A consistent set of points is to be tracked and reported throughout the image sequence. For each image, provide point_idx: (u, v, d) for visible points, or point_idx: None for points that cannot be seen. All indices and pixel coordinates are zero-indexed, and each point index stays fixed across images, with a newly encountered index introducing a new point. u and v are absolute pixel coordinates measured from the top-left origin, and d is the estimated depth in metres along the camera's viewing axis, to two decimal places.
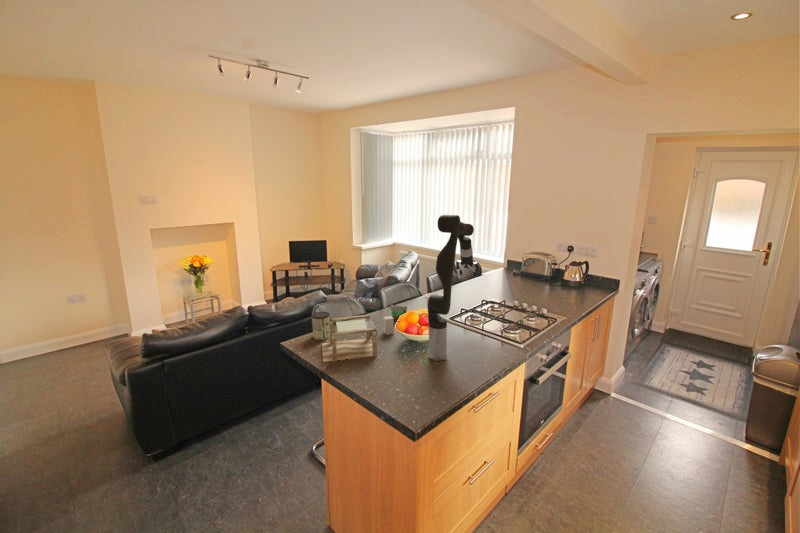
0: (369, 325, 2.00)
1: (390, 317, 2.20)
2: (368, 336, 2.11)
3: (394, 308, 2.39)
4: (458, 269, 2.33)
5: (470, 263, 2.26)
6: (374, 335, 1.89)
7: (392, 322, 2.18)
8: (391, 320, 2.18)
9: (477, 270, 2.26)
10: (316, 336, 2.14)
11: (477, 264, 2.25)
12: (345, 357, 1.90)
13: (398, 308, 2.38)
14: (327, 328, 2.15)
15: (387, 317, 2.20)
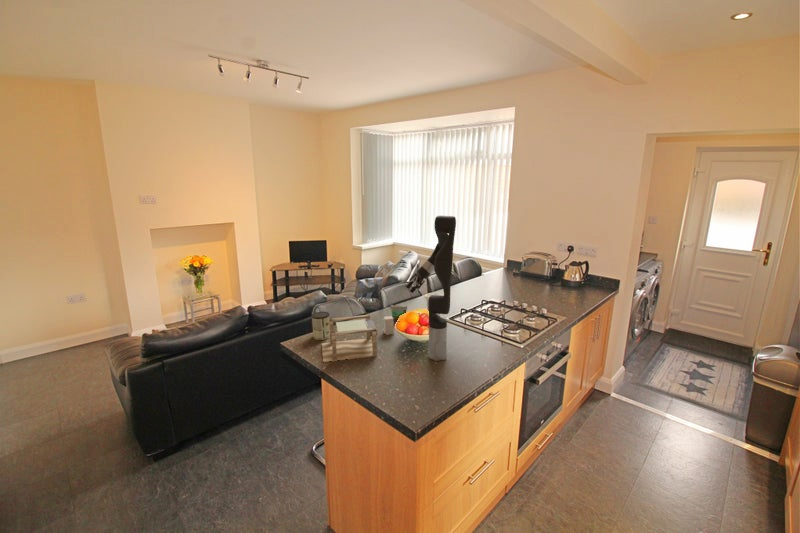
0: (369, 325, 2.00)
1: (390, 317, 2.20)
2: (368, 336, 2.11)
3: (394, 308, 2.39)
4: (410, 281, 2.25)
5: (419, 277, 2.17)
6: (374, 335, 1.89)
7: (392, 322, 2.18)
8: (391, 320, 2.18)
9: (416, 285, 2.13)
10: (316, 336, 2.14)
11: (421, 280, 2.13)
12: (345, 357, 1.90)
13: (398, 308, 2.38)
14: (327, 328, 2.15)
15: (387, 317, 2.20)
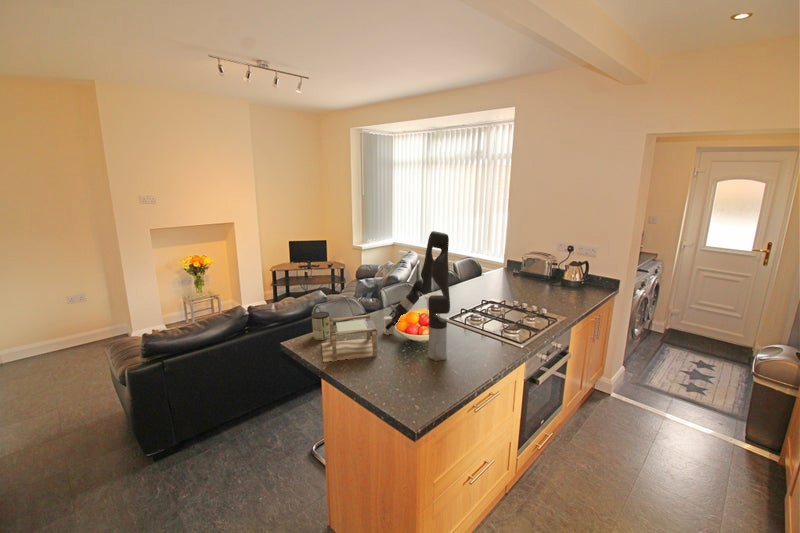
0: (369, 325, 2.00)
1: (390, 317, 2.20)
2: (368, 336, 2.11)
3: (394, 308, 2.39)
4: None
5: (397, 314, 2.18)
6: (374, 335, 1.89)
7: None
8: None
9: (392, 322, 2.15)
10: (316, 336, 2.14)
11: (397, 318, 2.14)
12: (345, 357, 1.90)
13: None
14: (327, 328, 2.15)
15: (387, 317, 2.20)
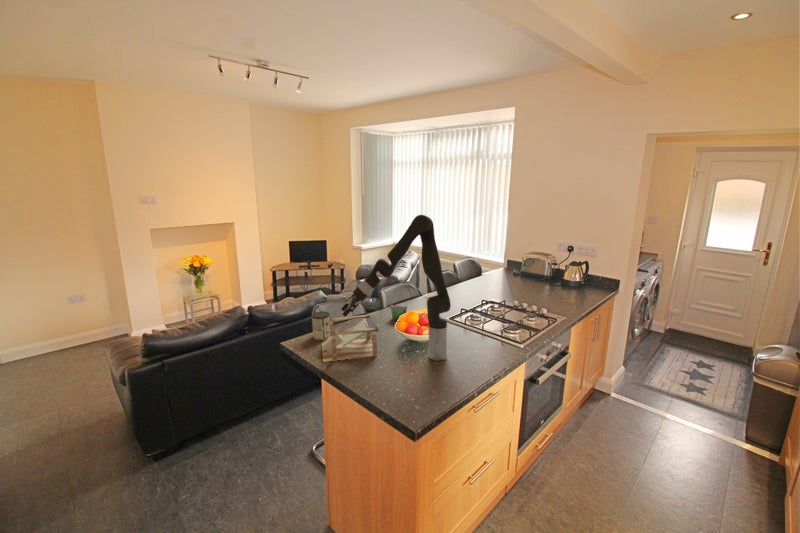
0: (369, 324, 1.99)
1: None
2: (368, 336, 2.11)
3: (394, 308, 2.39)
4: (346, 303, 2.00)
5: (354, 299, 1.92)
6: (374, 335, 1.89)
7: (327, 344, 1.94)
8: (326, 347, 1.94)
9: (349, 308, 1.88)
10: (316, 336, 2.14)
11: (355, 302, 1.88)
12: (345, 357, 1.90)
13: (398, 308, 2.38)
14: (327, 328, 2.15)
15: None
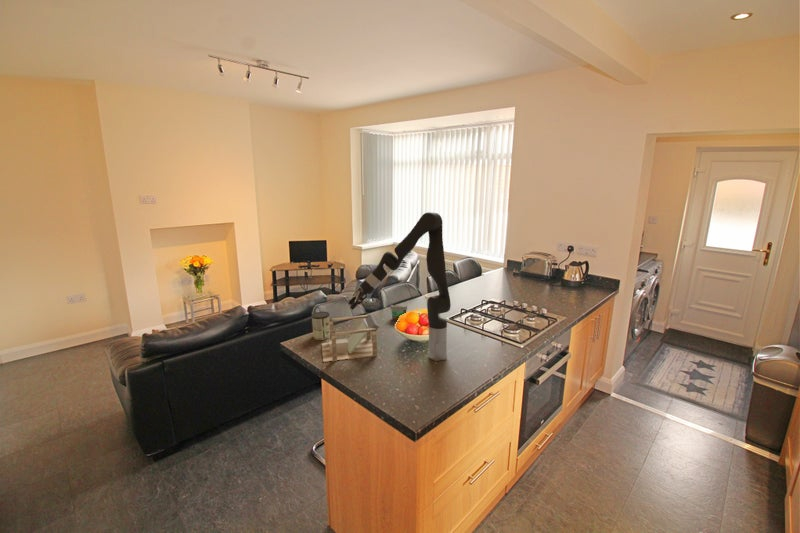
0: (369, 323, 1.99)
1: (329, 344, 1.97)
2: (368, 336, 2.11)
3: (394, 308, 2.39)
4: (353, 296, 2.00)
5: (362, 292, 1.92)
6: (374, 335, 1.89)
7: None
8: (331, 346, 1.94)
9: (357, 300, 1.88)
10: (316, 336, 2.14)
11: (363, 295, 1.88)
12: (345, 357, 1.90)
13: (398, 308, 2.38)
14: (327, 328, 2.15)
15: None
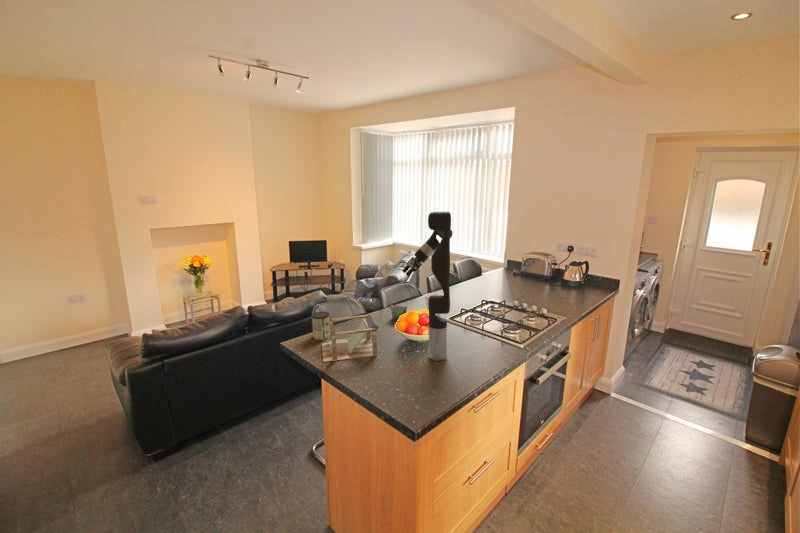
0: (369, 323, 1.99)
1: (329, 344, 1.97)
2: (368, 336, 2.11)
3: (394, 308, 2.39)
4: None
5: (416, 260, 2.06)
6: (374, 335, 1.89)
7: None
8: (331, 346, 1.94)
9: (413, 267, 2.01)
10: (316, 336, 2.14)
11: (418, 262, 2.02)
12: (345, 357, 1.90)
13: (398, 308, 2.38)
14: (327, 328, 2.15)
15: None
